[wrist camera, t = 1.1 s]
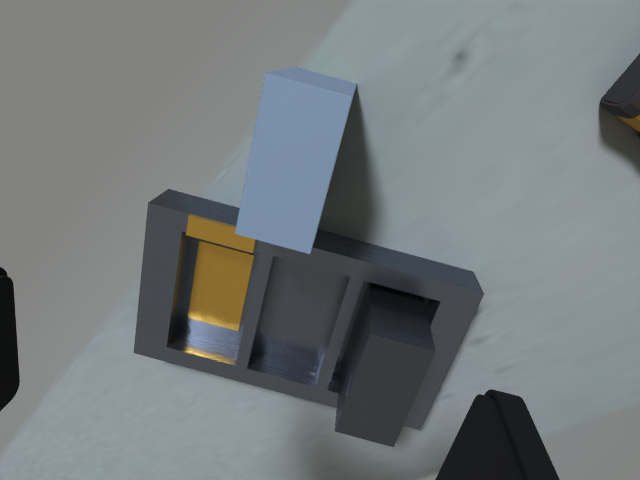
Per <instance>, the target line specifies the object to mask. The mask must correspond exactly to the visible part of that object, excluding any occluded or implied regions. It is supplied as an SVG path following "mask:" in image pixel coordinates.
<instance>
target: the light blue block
mask: <svg viewBox="0 0 640 480" xmlns="http://www.w3.org/2000/svg"><path fill="white" fill-rule="evenodd" d="M356 85H357V84H356V83H353V82H349V81H345V80H342V79H338V78H334V77H331V76H327V75H323V74H320V73H316V72H313V71H309V70H305V69H302V68H298V67H293V68H287V69H282V70H276V71H271V72H266V73H265V76H264V82H263V87H262V93H261V98H260V104H259V109H258V114H257V119H256V124H255V130H254V135H253V140H252V146H251V151H250V156H249V162H248V167H247V172H246V178H245V183H244V188H243V194H242V199H241V204H240V210H239V215H238V220H237V226H236V231H235V234H238V235H241V236H245V237H249V238H252V239H256V240H260V241H263V242H267V243H271V244H274V245H278V246H282V247H285V248H289V249H293V250H296V251H300V252H304V253H307V254H310V253H311V249H312V246H313V243H314V241H315V237H316V233H317V230H318V226H319V222H320V219H321V215H322V211H323V208H324V204H325V200H326V196H327V193H328V189H329V185H330V182H331V178H332V174H333V171H334V167H335V163H336V159H337V156H338V152H339V148H340V145H341V141H342V137H343V134H344V130H345V126H346V122H347V119H348V115H349V111H350V108H351V104H352V100H353V96H354V93H355V89H356Z"/></svg>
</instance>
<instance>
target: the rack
mask: <svg viewBox="0 0 640 480" xmlns="http://www.w3.org/2000/svg"><path fill="white" fill-rule="evenodd" d="M239 210H240V208H236V207H233V206H229V205H225V204H222V203H218V202H214V201H211V200H207V199H203V198H200V197H196V196H192V195H188V194H185V193H181V192H178V191H174V190H170V189H168V190H166V191H165V192H163V193H162V194H160V195H159V196H158V197H156V198H154V199H153V200H152V201H150V202H149V203H148V211H147V221H146V232H145V243H144V253H143V264H142V273H141V283H140V294H139V304H138V314H137V325H136V335H135V345H134V353H136V354H140V355H143V356H147V357H151V358H155V359H158V360H162V361H166V362H169V363H173V364H177V365H181V366H184V367H188V368H192V369H196V370H199V371H203V372H207V373H210V374H214V375H218V376H222V377H225V378H229V379H233V380H237V381H240V382H244V383H248V384H251V385H255V386H259V387H263V388H266V389H270V390H274V391H278V392H281V393H285V394H289V395H292V396H296V397H300V398H304V399H307V400H311V401H315V402H319V403H322V404H326V405H330V406H333V407H337V411H336V423H335V431H336V432H339V433H343V434H347V435H351V436H354V437H358V438H362V439H366V440H369V441H373V442H377V443H380V444H384V445H388V446H392V447H394V445H395V443H396V440H397V438H398V436H399V434H400V431H401V429H402V427H403V425H404V426H408V427H412V428H415V429H419V430H420V429H421V427H422V425H423V423H424V421H425V419H426V417H427V415H428V412H429V410H430V408H431V406H432V404H433V402H434V400H435V397H436V395H437V393H438V391H439V389H440V387H441V385H442V383H443V380H444V378H445V376H446V374H447V372H448V370H449V368H450V365H451V363H452V361H453V359H454V357H455V355H456V353H457V351H458V348H459V346H460V344H461V342H462V340H463V338H464V336H465V333H466V331H467V329H468V327H469V325H470V323H471V321H472V319H473V316H474V314H475V312H476V310H477V308H478V306H479V304H480V302H481V299H482V297H483V295H484V293H483V291H482V289H481V287H480V285H479V282H478V280H477V278H476V276H475V274H474V272H472V271H468V270H465V269H461V268H457V267H453V266H450V265H446V264H442V263H439V262H435V261H431V260H428V259H424V258H420V257H417V256H413V255H409V254H406V253H402V252H398V251H395V250H391V249H387V248H384V247H380V246H376V245H373V244H369V243H365V242H362V241H358V240H354V239H350V238H347V237H343V236H339V235H336V234H332V233H328V232H325V231H321V230H317V233H316V237H315V241H314V243H313V246H312V249H311V253H310V254H307V253H304V252H300V251H296V250H293V249H289V248H285V247H282V246H278V245H274V244H271V243H267V242H263V241H260V240H256V239H252V238H249V237H245V236H241V235H238V234H235V231H236V226H237V220H238V215H239Z"/></svg>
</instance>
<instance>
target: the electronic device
mask: <svg viewBox="0 0 640 480" xmlns="http://www.w3.org/2000/svg"><path fill="white" fill-rule="evenodd" d="M600 104H601V105H602V107H604V108H605V109H607V110H608V111H609V112H611V113H612V114H614V115H616V116H617V117H618V118H620V119H621V120H623V121H624V122H625V123H627V124H628V125H630V126H631V127H632V128H634V129H635V130H637V131H638V132H639V133H638V134H637V136H638V137H640V54H639V55H638V56H637V57H636V59H635V60H634V61H633V62H632V63H631V64H630V66H629V67H628V68H627V69H626V70H625V72H624V73H623V74H622V75H621V76H620V77H619V79H618V80H617V81H616V82H615V83H614V84H613V86H612V87H611V88H610V89H609V90H608V92H607V93H606V94H605V95H604V96H603V97H602V99H601V103H600Z"/></svg>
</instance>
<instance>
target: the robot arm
mask: <svg viewBox="0 0 640 480" xmlns="http://www.w3.org/2000/svg"><path fill="white" fill-rule="evenodd" d="M19 382H20V380H19V364H18V349H17V334H16V318H15V303H14V288H13V281H12V280H11V278H9V277H7V273H6V271H5V270H4V269H3V268H1V267H0V411H1V410H2V409H3V408H4V407H5V406H6V405H7V404H8V403H9V402H10V401H11V400H12V399H13V397H14V395H15V394H16V392H17V390H18V387H19ZM436 480H559V477H558V475H557V473H556V471H555V469H554V466H553V465H552V462H551V460H550V457H549V455H548V453H547V451H546V449H545V447H544V444H543V442H542V440H541V438H540V435H539V433H538V431H537V429H536V427H535V424H534V422H533V420H532V418H531V416H530V413H529V411H528V409H527V407H526V405H525V402H524V401H523V399H522V398H521V397H519V396H516V395H512V394H508V393H504V392H500V391H496V390H488V391H487V392H486V393H485V395H477V396H476V397H475V399H474V401H473V403H472V405H471V407H470V409H469V411H468V413H467V415H466V418H465V420H464V422H463V424H462V426H461V428H460V430H459V432H458V434H457V436H456V438H455V440H454V442H453V444H452V447H451V449H450V451H449V453H448V455H447V457H446V459H445V461H444V463H443V465H442V467H441V469H440V471H439V473H438V476H437V478H436Z"/></svg>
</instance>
